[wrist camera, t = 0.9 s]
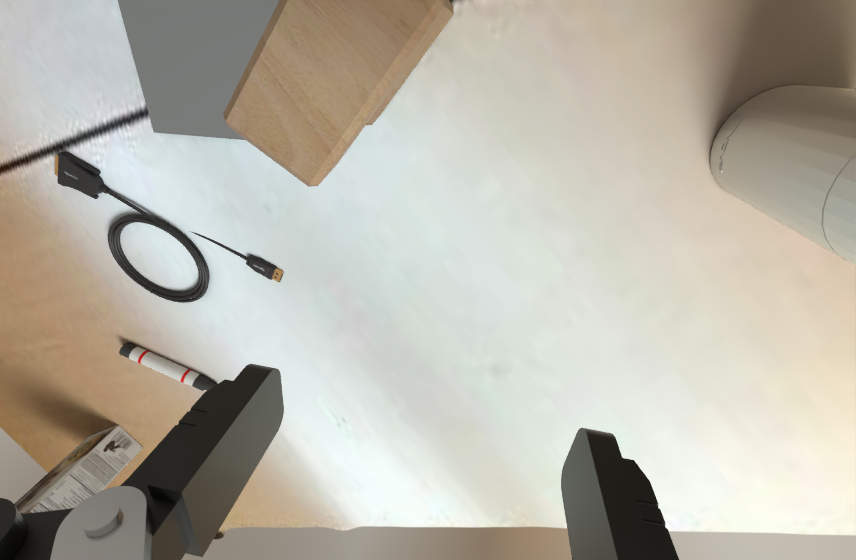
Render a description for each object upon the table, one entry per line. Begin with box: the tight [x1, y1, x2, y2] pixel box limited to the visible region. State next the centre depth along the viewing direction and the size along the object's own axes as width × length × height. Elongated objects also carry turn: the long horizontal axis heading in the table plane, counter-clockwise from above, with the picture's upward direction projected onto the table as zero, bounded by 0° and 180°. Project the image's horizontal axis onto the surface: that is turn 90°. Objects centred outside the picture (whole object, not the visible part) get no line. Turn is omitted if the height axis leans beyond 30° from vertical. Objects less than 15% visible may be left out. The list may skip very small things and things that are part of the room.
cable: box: [55, 152, 284, 302], centre depth 50 cm, size 14×28×2 cm, turn 61°
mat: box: [118, 0, 279, 140], centre depth 36 cm, size 21×18×1 cm
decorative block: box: [223, 0, 453, 186], centre depth 26 cm, size 11×6×20 cm, turn 138°
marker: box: [119, 343, 217, 391], centre depth 59 cm, size 15×2×2 cm, turn 66°
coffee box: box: [14, 425, 143, 514], centre depth 65 cm, size 9×6×16 cm
